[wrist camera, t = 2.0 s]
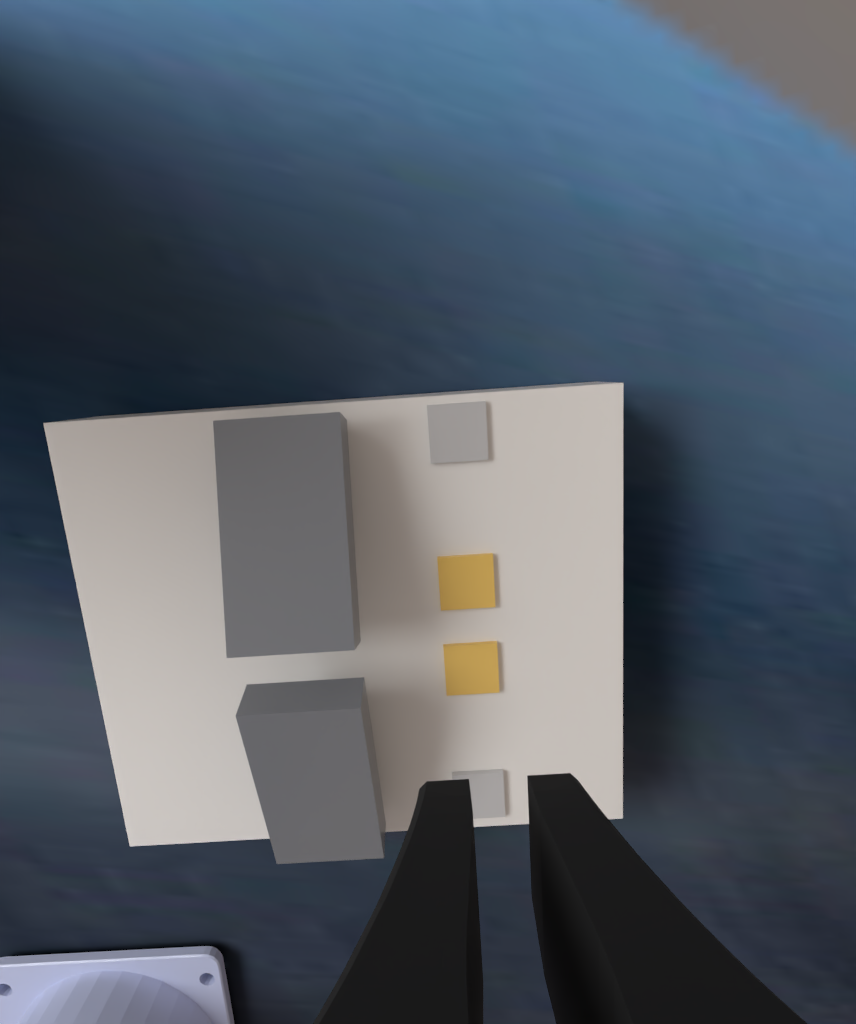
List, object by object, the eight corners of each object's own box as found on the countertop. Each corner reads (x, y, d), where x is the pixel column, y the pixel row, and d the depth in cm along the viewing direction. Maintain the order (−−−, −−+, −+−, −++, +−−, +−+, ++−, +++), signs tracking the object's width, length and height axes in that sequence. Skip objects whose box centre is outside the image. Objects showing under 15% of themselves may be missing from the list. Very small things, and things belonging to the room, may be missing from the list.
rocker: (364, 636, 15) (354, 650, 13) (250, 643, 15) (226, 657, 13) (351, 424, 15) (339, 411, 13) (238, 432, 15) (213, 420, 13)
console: (602, 763, 20) (628, 822, 17) (166, 788, 20) (127, 850, 17) (599, 381, 17) (630, 382, 14) (97, 416, 17) (39, 423, 15)
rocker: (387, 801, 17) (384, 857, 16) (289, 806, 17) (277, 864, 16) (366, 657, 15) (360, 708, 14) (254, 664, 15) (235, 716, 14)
